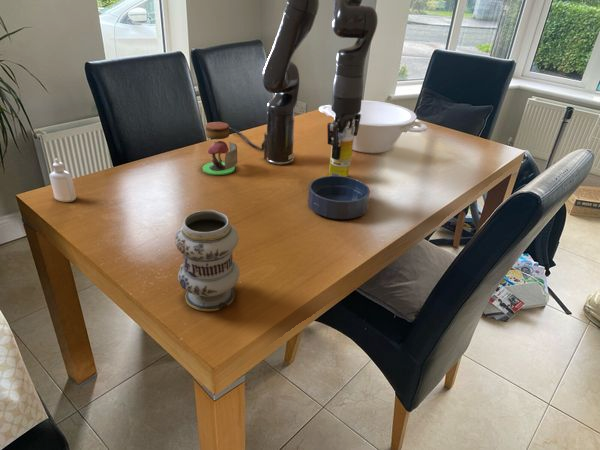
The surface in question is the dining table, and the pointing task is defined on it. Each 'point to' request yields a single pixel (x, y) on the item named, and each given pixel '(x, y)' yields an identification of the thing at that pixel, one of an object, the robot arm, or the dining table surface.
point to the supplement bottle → (344, 151)
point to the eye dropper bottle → (62, 183)
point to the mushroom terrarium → (220, 150)
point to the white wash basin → (380, 125)
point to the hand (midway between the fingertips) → (341, 155)
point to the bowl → (338, 197)
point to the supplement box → (338, 170)
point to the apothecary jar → (207, 260)
